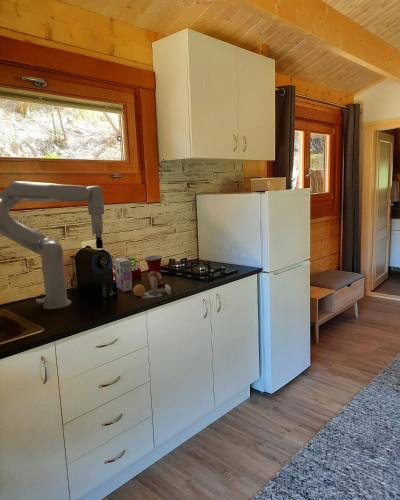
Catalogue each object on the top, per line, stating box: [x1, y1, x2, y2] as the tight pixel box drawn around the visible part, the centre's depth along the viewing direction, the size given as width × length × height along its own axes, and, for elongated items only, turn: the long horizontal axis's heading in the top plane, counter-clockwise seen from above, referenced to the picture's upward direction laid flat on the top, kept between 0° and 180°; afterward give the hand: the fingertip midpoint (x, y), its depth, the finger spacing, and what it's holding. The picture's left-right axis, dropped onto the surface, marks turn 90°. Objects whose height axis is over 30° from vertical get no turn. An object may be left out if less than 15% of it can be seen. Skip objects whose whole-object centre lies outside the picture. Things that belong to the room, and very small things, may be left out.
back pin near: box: [152, 279, 158, 296], centre depth 190 cm, size 2×2×8 cm
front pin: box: [147, 288, 167, 295], centre depth 194 cm, size 2×2×8 cm
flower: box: [146, 271, 164, 287], centre depth 211 cm, size 10×9×8 cm
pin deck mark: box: [140, 291, 163, 299], centre depth 193 cm, size 10×10×1 cm
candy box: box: [113, 257, 134, 292], centre depth 207 cm, size 14×6×16 cm, turn 26°
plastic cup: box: [144, 254, 163, 273], centre depth 235 cm, size 11×11×12 cm
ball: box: [132, 283, 146, 297], centre depth 191 cm, size 6×6×6 cm
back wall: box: [164, 283, 172, 295], centre depth 196 cm, size 2×9×3 cm, turn 15°
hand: (99, 248), depth 190 cm, fingers closed
